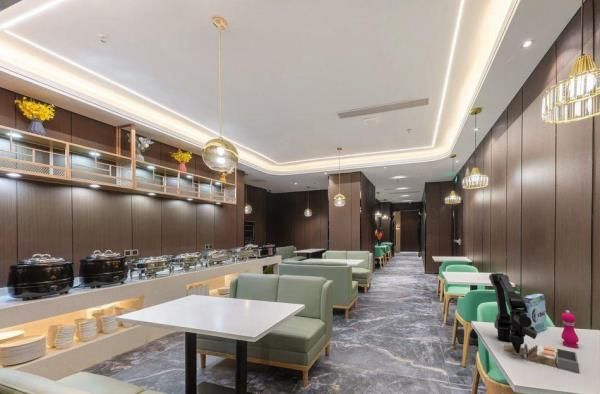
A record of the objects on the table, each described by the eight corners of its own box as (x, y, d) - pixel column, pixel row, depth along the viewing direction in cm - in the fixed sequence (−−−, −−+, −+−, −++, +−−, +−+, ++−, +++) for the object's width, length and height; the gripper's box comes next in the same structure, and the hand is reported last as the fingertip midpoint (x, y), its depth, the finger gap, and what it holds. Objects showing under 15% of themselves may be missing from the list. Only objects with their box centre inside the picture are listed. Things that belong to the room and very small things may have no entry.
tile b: (544, 350, 150) (544, 348, 150) (544, 348, 153) (544, 345, 153) (554, 353, 148) (554, 350, 148) (554, 350, 151) (554, 348, 151)
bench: (527, 360, 148) (527, 352, 149) (528, 351, 159) (528, 343, 159) (556, 367, 141) (555, 358, 141) (555, 357, 152) (554, 349, 152)
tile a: (544, 354, 146) (544, 352, 146) (544, 352, 149) (544, 349, 149) (554, 357, 143) (554, 354, 143) (554, 354, 146) (554, 351, 146)
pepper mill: (582, 349, 161) (579, 312, 163) (567, 348, 162) (564, 311, 164) (573, 343, 168) (570, 308, 170) (559, 342, 169) (556, 308, 171)
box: (557, 367, 140) (556, 358, 141) (556, 356, 152) (555, 348, 152) (579, 373, 135) (578, 363, 136) (576, 361, 147) (575, 352, 147)
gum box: (538, 327, 194) (536, 293, 196) (547, 330, 190) (545, 294, 192) (523, 332, 186) (520, 296, 188) (532, 335, 181) (529, 298, 183)
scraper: (503, 353, 156) (502, 346, 156) (505, 346, 165) (505, 339, 165) (526, 359, 149) (525, 351, 150) (527, 351, 158) (527, 344, 159)
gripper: (535, 329, 145) (537, 361, 144) (536, 319, 159) (538, 348, 158) (508, 324, 153) (510, 354, 151) (511, 315, 167) (513, 343, 165)
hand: (518, 350), depth 156 cm, fingers open, 9 cm apart
